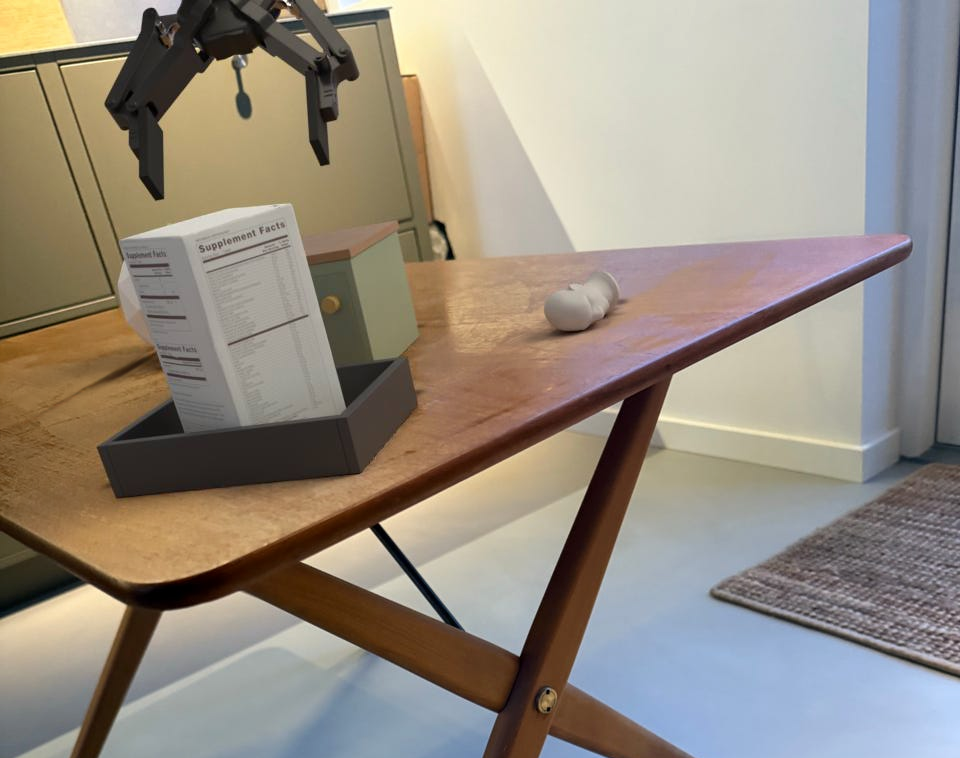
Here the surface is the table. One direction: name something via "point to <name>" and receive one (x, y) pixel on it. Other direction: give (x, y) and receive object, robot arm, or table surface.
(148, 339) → the geodesic sphere
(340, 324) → the cabinet
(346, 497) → the table surface
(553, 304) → the smooth white sculpture
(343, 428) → the tray
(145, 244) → the supplement box
